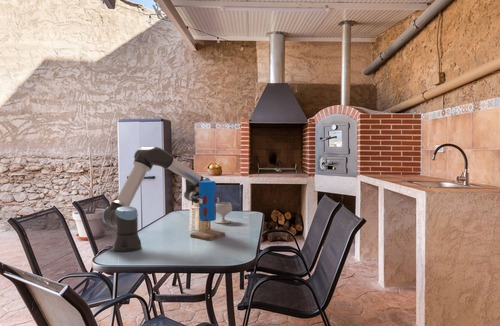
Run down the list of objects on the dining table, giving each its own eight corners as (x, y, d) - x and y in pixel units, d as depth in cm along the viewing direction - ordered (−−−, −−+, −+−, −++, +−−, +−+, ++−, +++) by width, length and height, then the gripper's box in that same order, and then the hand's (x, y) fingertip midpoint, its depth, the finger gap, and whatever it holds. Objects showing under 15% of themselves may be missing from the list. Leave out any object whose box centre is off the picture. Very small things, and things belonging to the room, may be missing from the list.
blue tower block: (213, 221, 220) (212, 182, 219) (197, 221, 222) (196, 182, 221) (218, 218, 231) (217, 180, 230) (202, 217, 233) (202, 180, 232)
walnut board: (208, 240, 215) (208, 237, 215) (190, 236, 225) (190, 233, 225) (225, 235, 228) (225, 232, 228) (207, 232, 238) (207, 229, 238)
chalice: (210, 222, 272) (210, 203, 271) (225, 219, 281) (225, 201, 280) (221, 224, 261) (221, 205, 261) (235, 222, 270) (235, 203, 270)
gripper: (211, 200, 247) (226, 204, 229) (180, 203, 235) (193, 208, 216) (211, 190, 247) (226, 193, 228) (180, 192, 235) (193, 196, 216)
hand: (210, 200), depth 222 cm, fingers closed on blue tower block, 11 cm apart
